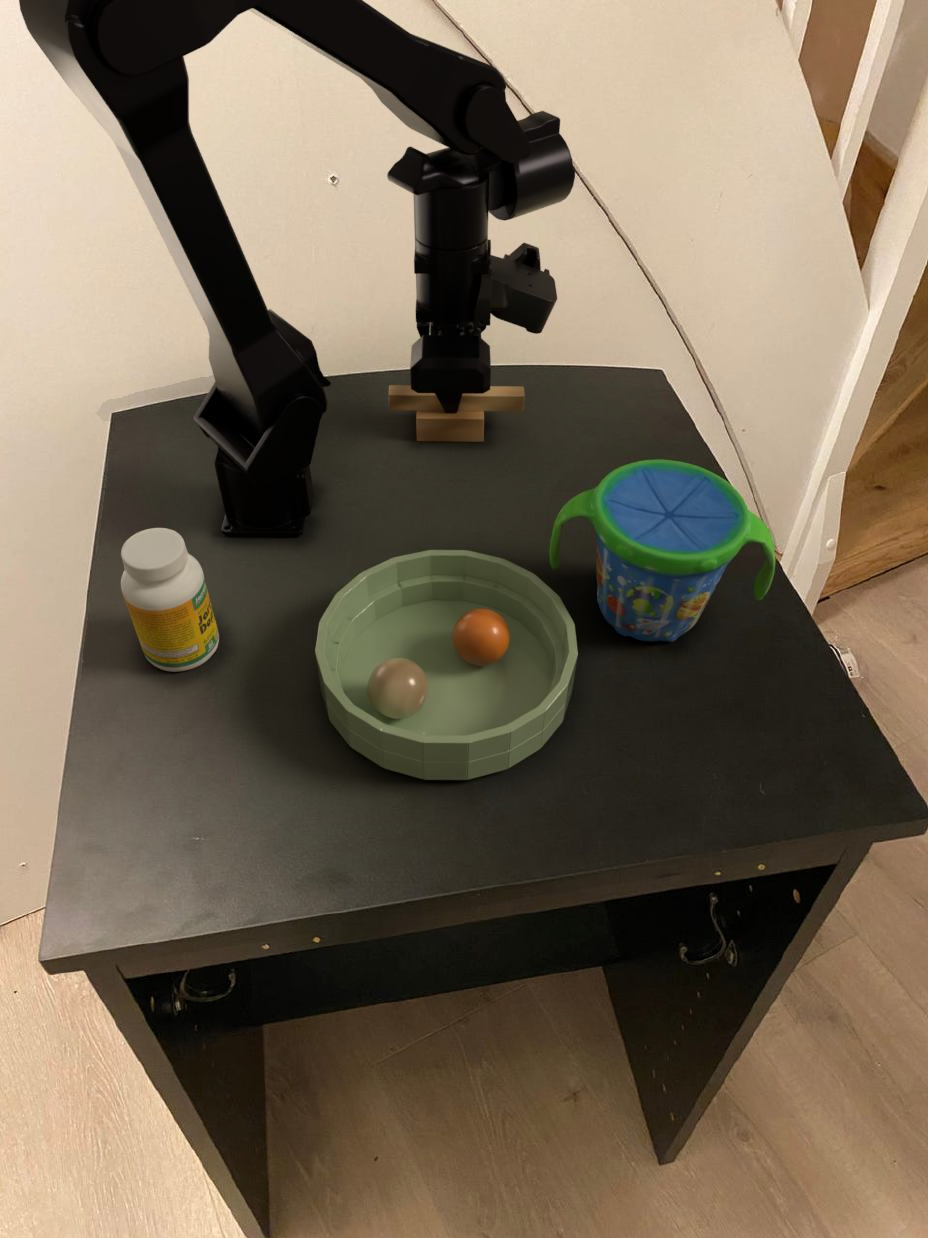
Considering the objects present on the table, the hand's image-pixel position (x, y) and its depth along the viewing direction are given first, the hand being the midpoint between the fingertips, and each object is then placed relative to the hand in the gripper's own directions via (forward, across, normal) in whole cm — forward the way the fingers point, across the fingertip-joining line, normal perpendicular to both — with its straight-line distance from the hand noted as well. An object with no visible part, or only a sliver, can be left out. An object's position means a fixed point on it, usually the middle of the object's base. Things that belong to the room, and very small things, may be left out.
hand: (451, 405), depth 84 cm
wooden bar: (0, 0, 0) cm, 0 cm away
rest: (+2, 0, 0) cm, 3 cm away
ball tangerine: (0, -28, -2) cm, 28 cm away
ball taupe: (0, -33, +3) cm, 33 cm away
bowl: (+2, -30, 0) cm, 30 cm away
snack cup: (+3, -23, -15) cm, 28 cm away
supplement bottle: (+3, -27, +19) cm, 33 cm away
